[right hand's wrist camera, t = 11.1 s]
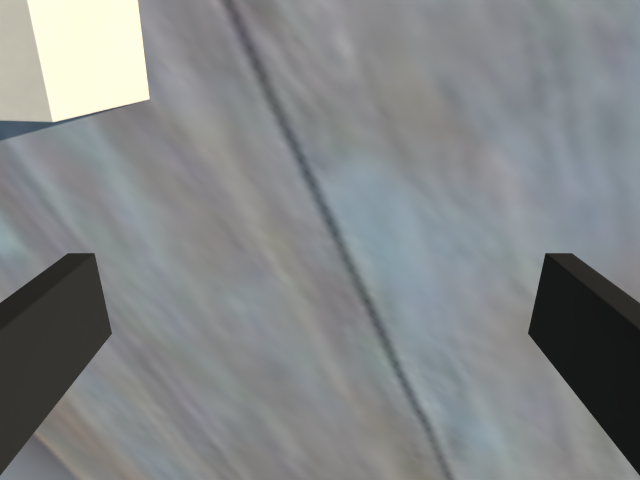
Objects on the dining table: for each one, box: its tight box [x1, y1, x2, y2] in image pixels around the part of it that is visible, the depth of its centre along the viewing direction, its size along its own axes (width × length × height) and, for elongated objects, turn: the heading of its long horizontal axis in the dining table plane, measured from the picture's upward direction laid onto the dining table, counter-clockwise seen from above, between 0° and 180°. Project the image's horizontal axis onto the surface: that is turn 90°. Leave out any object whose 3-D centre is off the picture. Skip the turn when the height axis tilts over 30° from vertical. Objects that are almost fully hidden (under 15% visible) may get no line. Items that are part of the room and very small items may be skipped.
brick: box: [0, 0, 149, 122], centre depth 20 cm, size 6×8×10 cm
